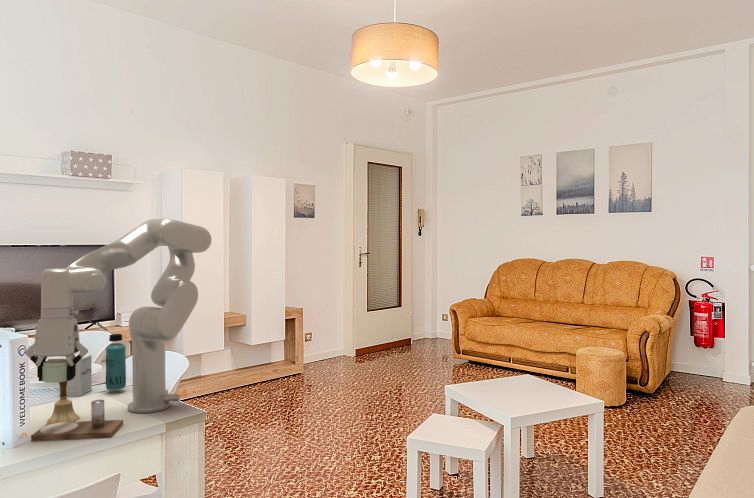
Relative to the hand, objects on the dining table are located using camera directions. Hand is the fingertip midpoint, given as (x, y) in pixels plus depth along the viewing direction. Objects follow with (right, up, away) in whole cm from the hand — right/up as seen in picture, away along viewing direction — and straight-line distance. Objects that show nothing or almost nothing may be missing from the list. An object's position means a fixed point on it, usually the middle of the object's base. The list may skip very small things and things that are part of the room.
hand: (56, 379), depth 151 cm
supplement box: (-16, -14, +39) cm, 45 cm away
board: (+5, -15, +2) cm, 16 cm away
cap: (0, 0, 0) cm, 0 cm away
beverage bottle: (-3, -14, +41) cm, 43 cm away
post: (+10, -14, +2) cm, 17 cm away
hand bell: (-5, -15, +12) cm, 20 cm away
